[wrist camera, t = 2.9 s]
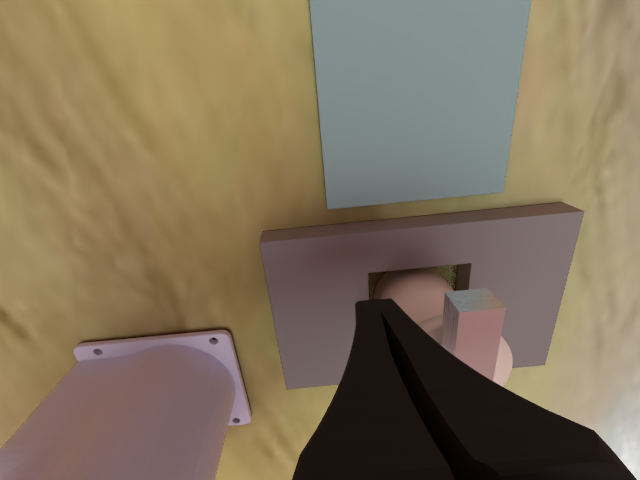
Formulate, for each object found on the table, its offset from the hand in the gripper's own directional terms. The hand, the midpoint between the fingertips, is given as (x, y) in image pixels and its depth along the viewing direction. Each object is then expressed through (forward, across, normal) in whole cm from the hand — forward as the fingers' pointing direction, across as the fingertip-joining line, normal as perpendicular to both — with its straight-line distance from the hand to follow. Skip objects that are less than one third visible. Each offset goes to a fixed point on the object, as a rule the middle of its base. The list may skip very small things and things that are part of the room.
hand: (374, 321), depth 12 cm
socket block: (+6, -3, +3) cm, 8 cm away
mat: (+6, -3, -7) cm, 10 cm away
